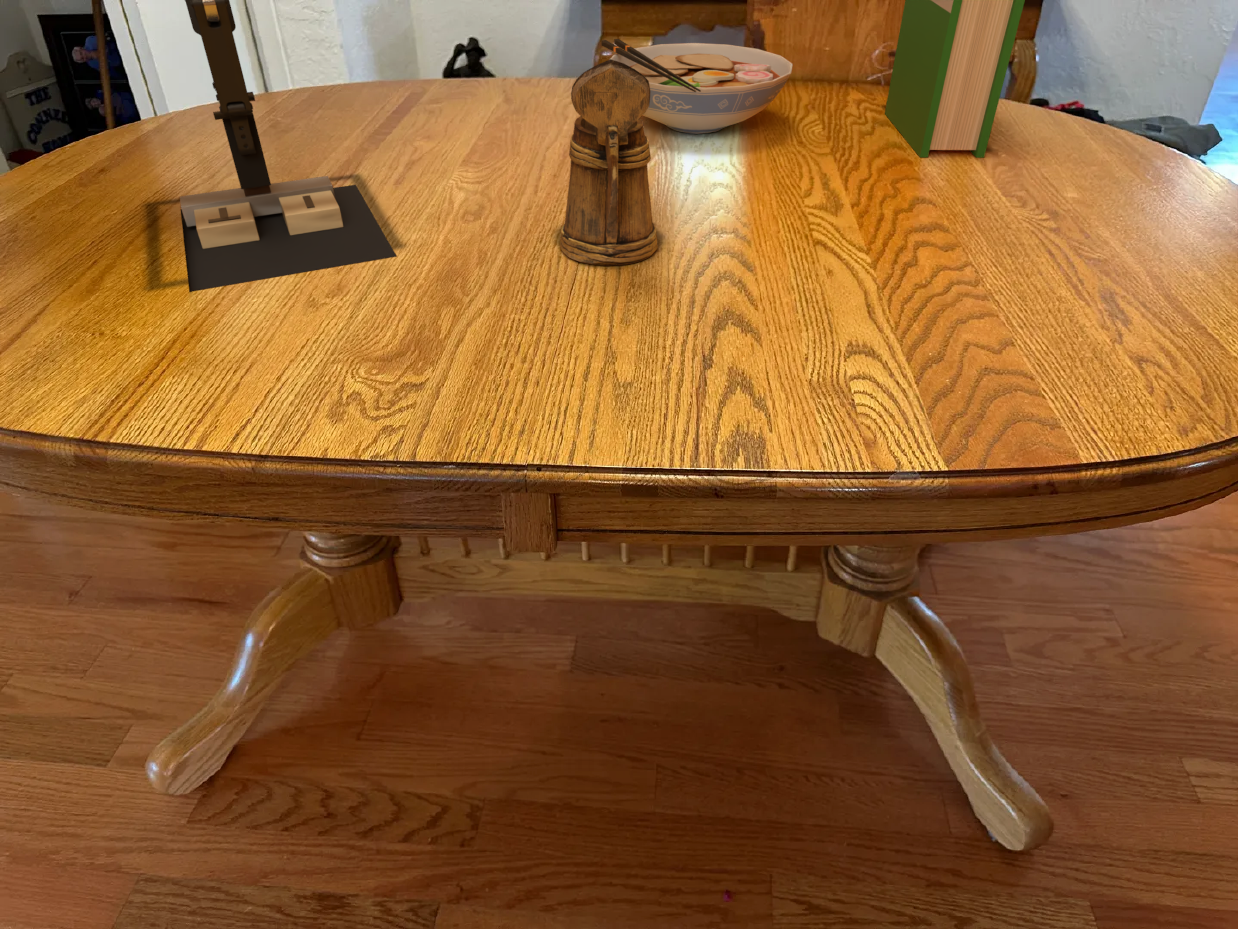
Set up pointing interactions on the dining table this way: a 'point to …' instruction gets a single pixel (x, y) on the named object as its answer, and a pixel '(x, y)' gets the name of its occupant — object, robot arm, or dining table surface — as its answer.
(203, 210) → the tile
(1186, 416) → the dining table surface
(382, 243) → the mat
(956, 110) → the hardback book
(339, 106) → the dining table surface
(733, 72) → the ramen bowl
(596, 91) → the wooden mug
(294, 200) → the tile
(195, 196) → the scraper
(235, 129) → the robot arm
